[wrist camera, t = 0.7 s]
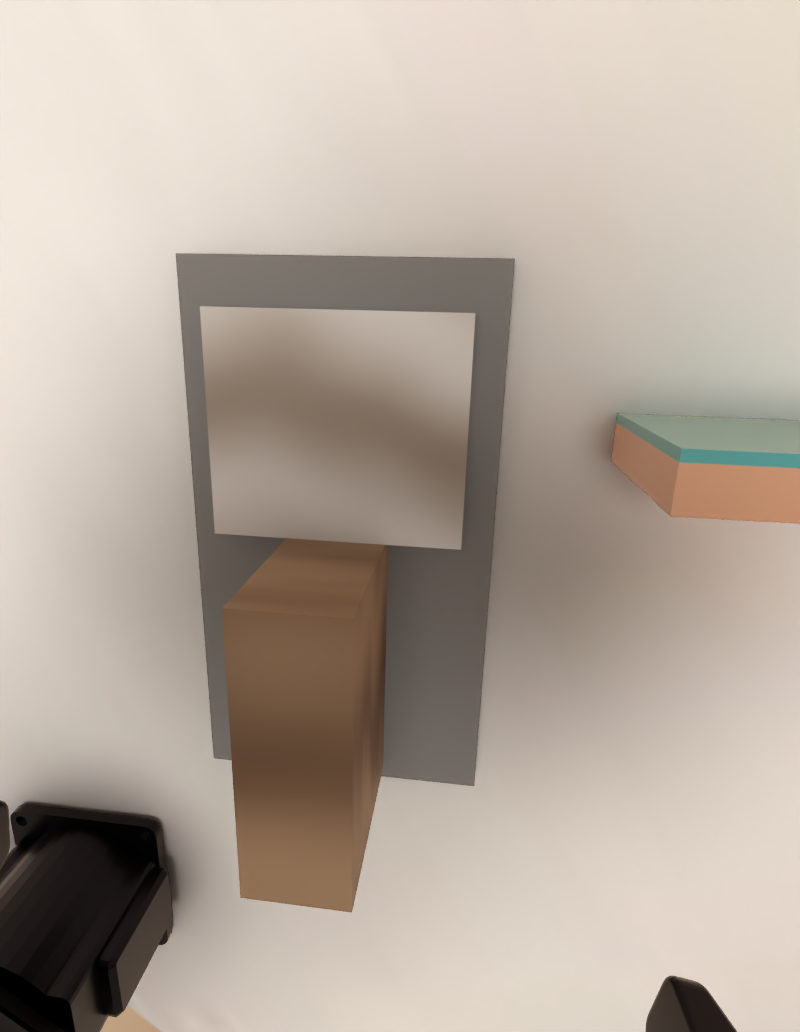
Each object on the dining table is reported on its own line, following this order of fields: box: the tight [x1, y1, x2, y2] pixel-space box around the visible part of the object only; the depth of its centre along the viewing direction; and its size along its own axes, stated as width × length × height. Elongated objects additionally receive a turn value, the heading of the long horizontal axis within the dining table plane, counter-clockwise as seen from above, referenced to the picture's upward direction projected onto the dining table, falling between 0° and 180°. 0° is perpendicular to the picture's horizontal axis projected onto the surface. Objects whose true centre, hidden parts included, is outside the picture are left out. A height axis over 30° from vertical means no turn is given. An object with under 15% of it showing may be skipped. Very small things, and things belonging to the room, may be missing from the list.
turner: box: [200, 306, 475, 912], centre depth 17 cm, size 16×8×6 cm, turn 178°
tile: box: [611, 413, 800, 524], centre depth 15 cm, size 6×2×6 cm, turn 88°
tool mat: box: [176, 254, 515, 786], centre depth 20 cm, size 10×18×1 cm, turn 178°
